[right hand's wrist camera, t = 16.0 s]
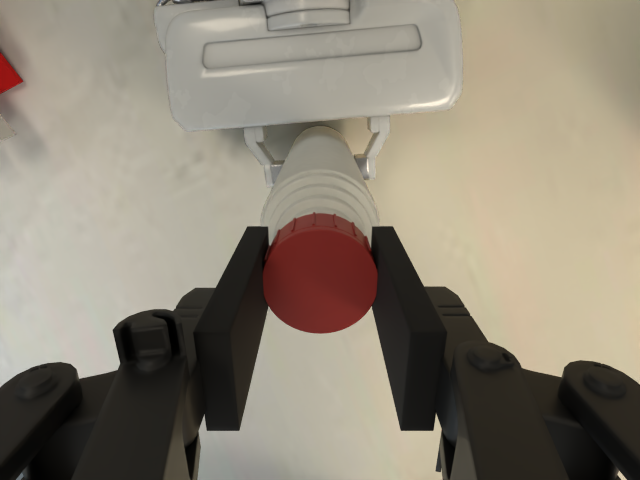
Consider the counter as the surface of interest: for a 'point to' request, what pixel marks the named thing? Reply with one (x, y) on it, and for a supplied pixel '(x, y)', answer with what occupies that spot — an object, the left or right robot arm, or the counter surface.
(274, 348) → the counter surface
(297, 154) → the bottle
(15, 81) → the toy
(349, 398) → the counter surface
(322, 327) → the cap
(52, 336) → the counter surface
